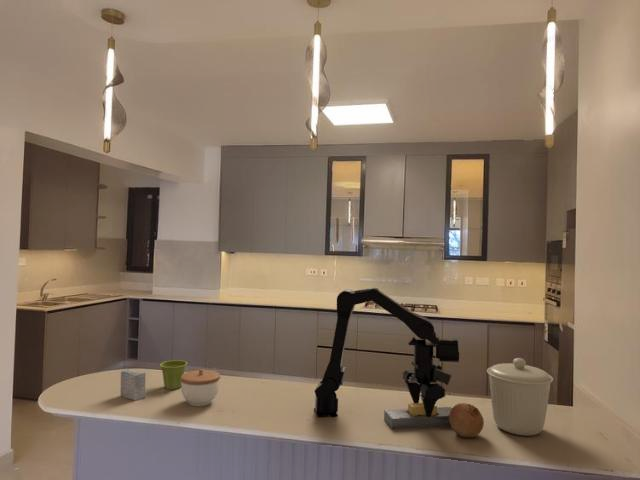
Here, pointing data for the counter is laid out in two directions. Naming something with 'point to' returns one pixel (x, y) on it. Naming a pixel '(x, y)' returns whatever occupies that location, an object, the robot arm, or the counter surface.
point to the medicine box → (133, 384)
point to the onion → (466, 420)
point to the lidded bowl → (200, 386)
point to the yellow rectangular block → (419, 409)
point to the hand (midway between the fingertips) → (422, 410)
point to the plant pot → (173, 373)
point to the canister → (519, 397)
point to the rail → (416, 418)
